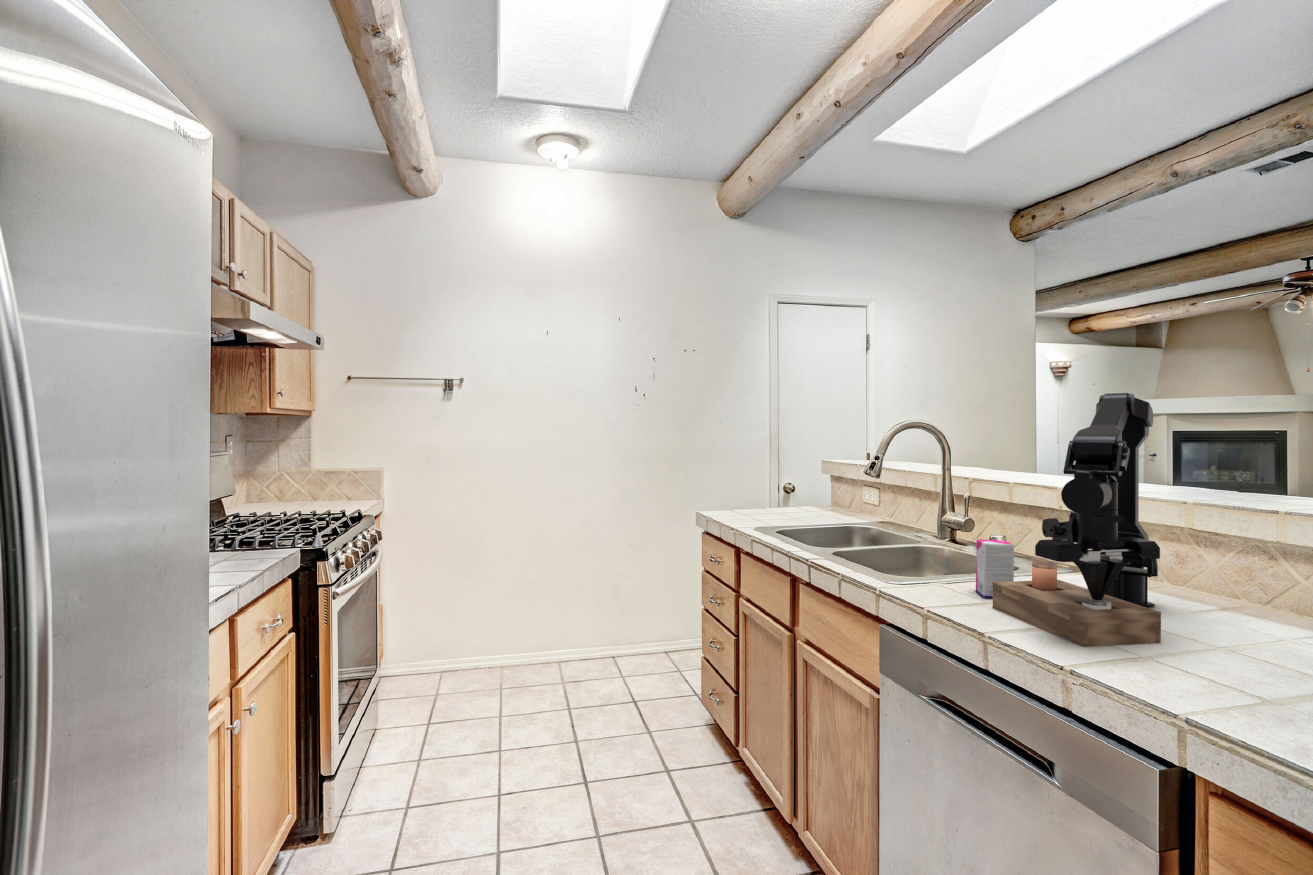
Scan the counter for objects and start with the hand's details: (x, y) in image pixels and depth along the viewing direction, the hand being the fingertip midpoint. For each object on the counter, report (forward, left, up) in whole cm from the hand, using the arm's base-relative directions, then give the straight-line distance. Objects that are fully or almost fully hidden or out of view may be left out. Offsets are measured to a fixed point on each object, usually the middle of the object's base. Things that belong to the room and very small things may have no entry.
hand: (1096, 599), depth 105 cm
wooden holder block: (0, -6, -6) cm, 8 cm away
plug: (0, 0, -5) cm, 5 cm away
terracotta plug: (0, -12, -2) cm, 12 cm away
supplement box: (+1, -25, -6) cm, 26 cm away
